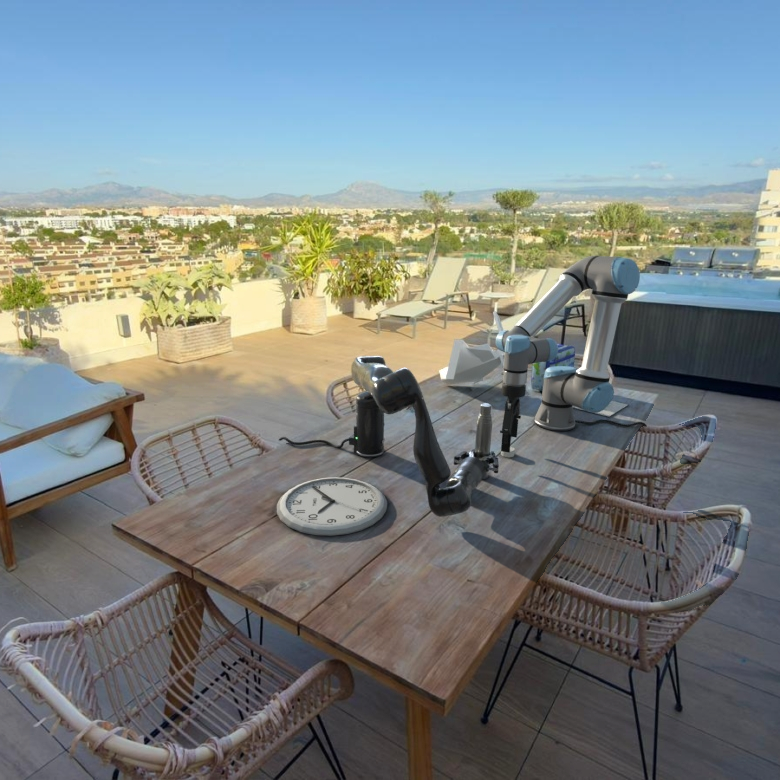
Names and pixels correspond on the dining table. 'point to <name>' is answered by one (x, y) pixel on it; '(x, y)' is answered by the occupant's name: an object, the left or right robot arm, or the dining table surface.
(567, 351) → the lunch box
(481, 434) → the bottle
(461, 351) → the white plastic object
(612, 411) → the invitation card
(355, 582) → the dining table surface
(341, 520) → the wall clock
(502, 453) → the cap
